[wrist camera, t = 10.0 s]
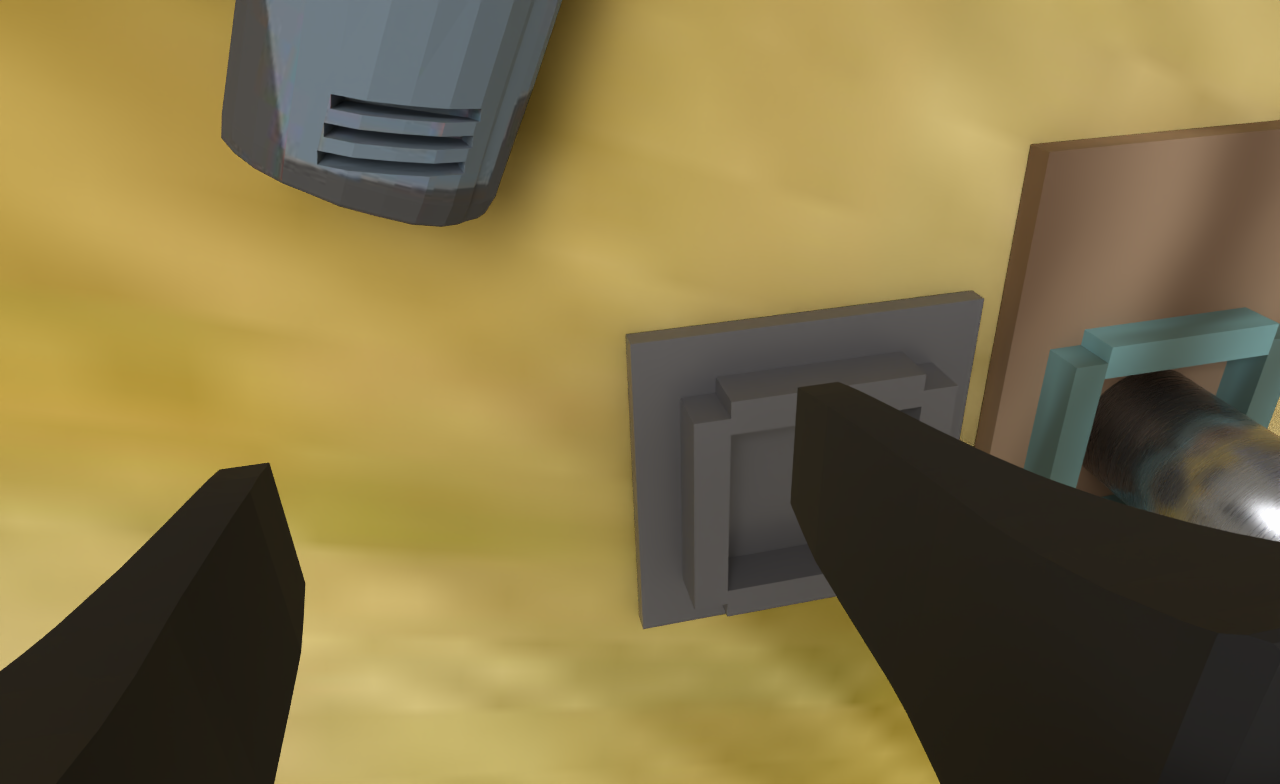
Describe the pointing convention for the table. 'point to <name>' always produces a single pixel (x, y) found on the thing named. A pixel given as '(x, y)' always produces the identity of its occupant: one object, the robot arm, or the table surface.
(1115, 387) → the peg
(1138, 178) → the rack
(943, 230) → the table surface
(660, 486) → the socket block
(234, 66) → the power drill
